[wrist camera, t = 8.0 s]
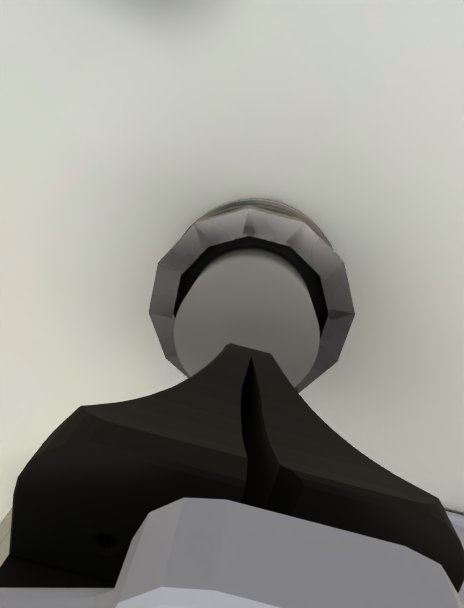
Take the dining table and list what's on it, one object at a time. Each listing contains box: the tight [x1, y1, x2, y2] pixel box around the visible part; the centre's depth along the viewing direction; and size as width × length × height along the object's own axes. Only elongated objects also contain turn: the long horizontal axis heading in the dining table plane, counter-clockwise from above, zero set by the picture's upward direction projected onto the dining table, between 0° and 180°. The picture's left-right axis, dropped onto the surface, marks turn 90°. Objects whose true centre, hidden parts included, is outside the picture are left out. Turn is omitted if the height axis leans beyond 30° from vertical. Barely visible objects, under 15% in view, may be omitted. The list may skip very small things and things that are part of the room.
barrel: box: [149, 199, 355, 393], centre depth 19 cm, size 8×8×5 cm
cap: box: [174, 245, 320, 387], centre depth 16 cm, size 5×5×4 cm
